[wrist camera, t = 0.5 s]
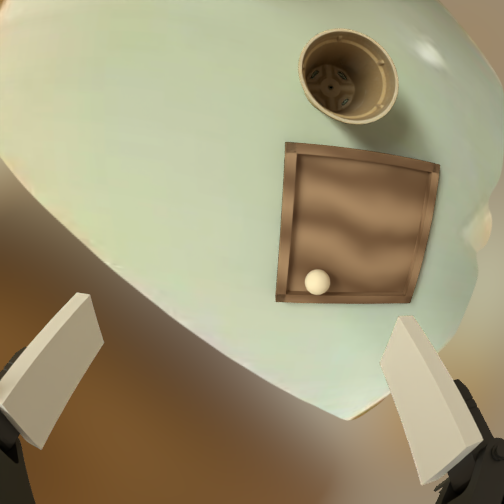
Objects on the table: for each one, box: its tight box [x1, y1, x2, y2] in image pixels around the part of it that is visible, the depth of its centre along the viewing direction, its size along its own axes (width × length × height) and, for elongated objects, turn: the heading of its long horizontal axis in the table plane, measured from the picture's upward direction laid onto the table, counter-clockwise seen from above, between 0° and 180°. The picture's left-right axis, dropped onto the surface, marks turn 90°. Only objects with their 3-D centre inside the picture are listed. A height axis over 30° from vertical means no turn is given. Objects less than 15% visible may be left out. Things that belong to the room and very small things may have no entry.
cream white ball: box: [305, 269, 330, 295], centre depth 35 cm, size 3×3×3 cm
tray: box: [275, 142, 440, 304], centre depth 33 cm, size 20×20×2 cm
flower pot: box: [298, 28, 399, 124], centre depth 24 cm, size 9×9×9 cm
